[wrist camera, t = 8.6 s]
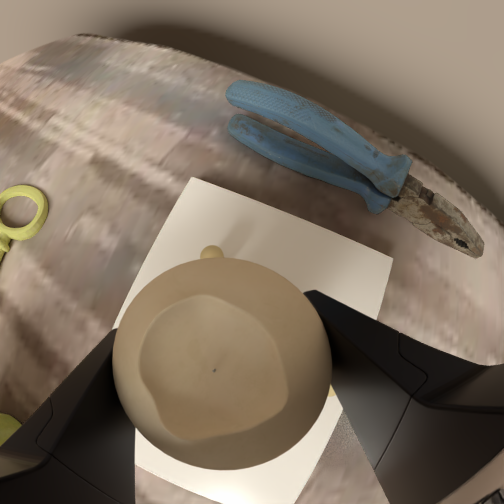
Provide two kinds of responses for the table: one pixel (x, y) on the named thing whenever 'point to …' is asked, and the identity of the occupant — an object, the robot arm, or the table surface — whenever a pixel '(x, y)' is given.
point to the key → (4, 234)
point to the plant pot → (7, 427)
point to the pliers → (345, 161)
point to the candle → (222, 363)
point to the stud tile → (294, 270)
